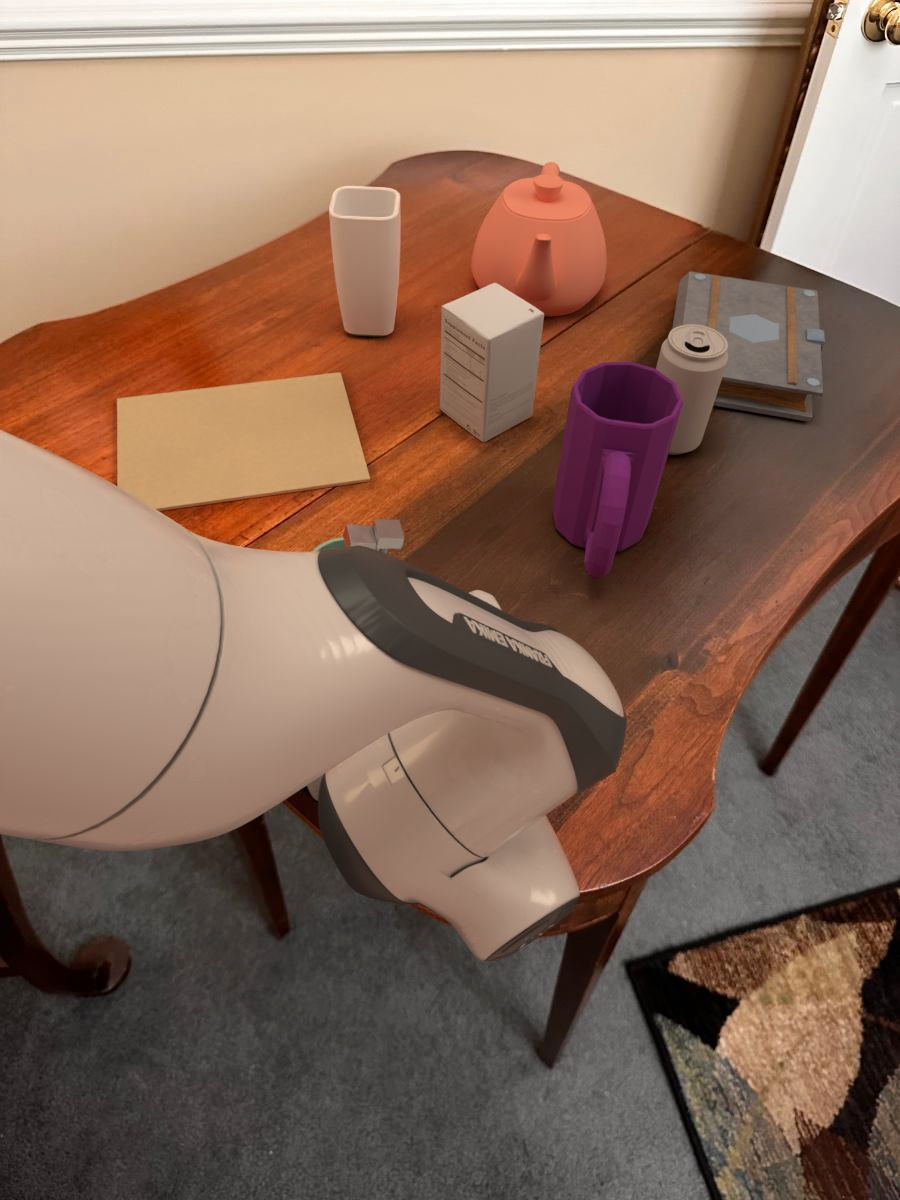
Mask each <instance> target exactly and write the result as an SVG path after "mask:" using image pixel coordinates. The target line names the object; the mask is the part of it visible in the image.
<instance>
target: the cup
mask: <svg viewBox="0 0 900 1200" xmlns="http://www.w3.org/2000/svg"><path fill="white" fill-rule="evenodd" d="M401 212H402V211H401V193H400V192H399V191H397V190H396V189H394V188H392V187H385V186H363V185H361V186H360V185H344V186H339V187H337V188H336V189H334V191H333V192H332V194H331V198H330V203H329V208H328V216H329V217H328V218H329V219H328V220H329V230H330V232H329V233H330V243H331V254H332V263H333V272H334V279H335V287H336V288H335V289H336V294H337V299H338V305H339V310H340V315H341V321H342V325H343V329H344V331H345V332H346V333H349V334H350V335H353V336H357V337H358V336H359V337H386V336H387V335H390V334H391V333H393V332H394V330H395V324H396V323H395V321H396V312H397V304H398V296H399V283H400V273H401V272H400V267H401V236H402V235H401V233H402V232H401V231H402V229H401V226H402V224H401V222H402V221H401V220H402V219H401V218H402V217H401Z"/></svg>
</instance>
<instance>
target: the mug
mask: <svg viewBox="0 0 900 1200" xmlns="http://www.w3.org/2000/svg"><path fill="white" fill-rule="evenodd" d="M682 404H683V400H682V397H681V395H680V392H679V390H678V387H677V385H676V383H675V382H674V381H672V380H671V379H669V378H668V377H666V376H665V375H664V374H662V373H661V372H659V371H658V370H657V369H656V368H654V367H650V366H647V365H643V364H640V363H636V362H633V361H603V362H600V363H598V364H596V365H593V366H590V367H588V368H586V369H584V370H582V371H581V372H580V374H579V376H578V377H577V379H576V380H575V382H574V384H573V385H572V386H571V391H570V398H569V403H568V410H567V415H566V421H565V428H564V433H563V439H562V440H563V441H562V446H561V451H560V457H559V463H558V469H557V475H556V482H555V488H554V493H553V498H552V505H551V512H552V516H553V517H552V518H553V521H554V526H555V530H556V531H558V533H559V534H560V535H562V536H563V537H564V538H565V539H566V540H567V541H568V542H569V543H570V544H571V545H573V546H576V547H578V548H582V549H585V553H584V560H583V564H584V571H585V574H586V576H587V577H589V578H592V579H594V580H595V579H602V578H604V577H606V576H607V575H609V573H610V572H611V569H612V566H613V563H614V559H615V555H616V552H622V551H624V550H626V549H628V548H630V547H631V546H633V545H635V544H638V543H639V542H640V541H641V539H642V538H643V536H644V533H645V531H646V529H647V526H648V524H649V522H650V518H651V515H652V513H653V512H652V511H653V509H654V505H655V502H656V498H657V494H658V490H659V487H660V484H661V481H662V478H663V477H662V476H663V474H664V470H665V466H666V463H667V460H668V456H669V454H668V453H669V449H670V446H671V443H672V439H673V436H674V432H675V429H676V425H677V422H678V418H679V415H680V411H681V408H682Z"/></svg>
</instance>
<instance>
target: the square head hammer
mask: <svg viewBox="0 0 900 1200" xmlns="http://www.w3.org/2000/svg"><path fill="white" fill-rule="evenodd" d="M342 537H343V538H344V542H345V546H346V547H348V546H364V547H368V548H371V549H374V550H375V548H376V545H377V543H376V539H375V535H374V532H373V528H372V525H370V524H369V525H367V524H356V523H355V524H354V523H353V524H351V523H346V525H345V527H344V531H343V534H342Z"/></svg>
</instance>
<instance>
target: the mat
mask: <svg viewBox="0 0 900 1200" xmlns="http://www.w3.org/2000/svg"><path fill="white" fill-rule="evenodd" d="M116 435H117V436H116V437H117V438H116V451H117V452H116V461H117V462H116V469H117V470H116V471H117V473H116V474H117V475H116V476H117V479H116V481H117V482H116V483H117V485H116V486H117V487H119V488H121V489H123V490H125V491H126V492H128V493H130V494H132V495H134V496H135V497H137V498H138V499H140V500H142V501H143V502H145V503H146V504H148V505H150V506H151V507H153V508H154V509H156V510H158V511H159V512H164V511H171V510H177V509H185V508H192V507H199V506H205V505H206V506H207V505H213V504H221V503H228V502H233V501H241V500H248V499H249V500H250V499H255V498H261V497H262V498H263V497H269V496H276V495H282V494H283V495H285V494H290V493H291V494H292V493H298V492H303V491H304V492H305V491H312V490H318V489H325V488H333V487H339V486H346V485H355V484H361V483H368V482H371V476H370V472H369V468H368V465H367V462H366V459H365V454H364V450H363V447H362V443H361V439H360V437H359V433H358V430H357V426H356V422H355V418H354V415H353V411H352V408H351V404H350V399H349V397H348V393H347V390H346V387H345V383H344V379H343V376H342V372H340V371H339V372H331V373H330V372H329V373H322V374H313V375H305V376H296V377H287V378H280V379H271V380H270V379H269V380H262V381H254V382H245V383H237V384H229V385H219V386H212V387H203V388H194V389H186V390H178V391H169V392H160V393H159V392H158V393H152V394H144V395H135V396H127V397H126V396H125V397H117V398H116Z"/></svg>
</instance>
